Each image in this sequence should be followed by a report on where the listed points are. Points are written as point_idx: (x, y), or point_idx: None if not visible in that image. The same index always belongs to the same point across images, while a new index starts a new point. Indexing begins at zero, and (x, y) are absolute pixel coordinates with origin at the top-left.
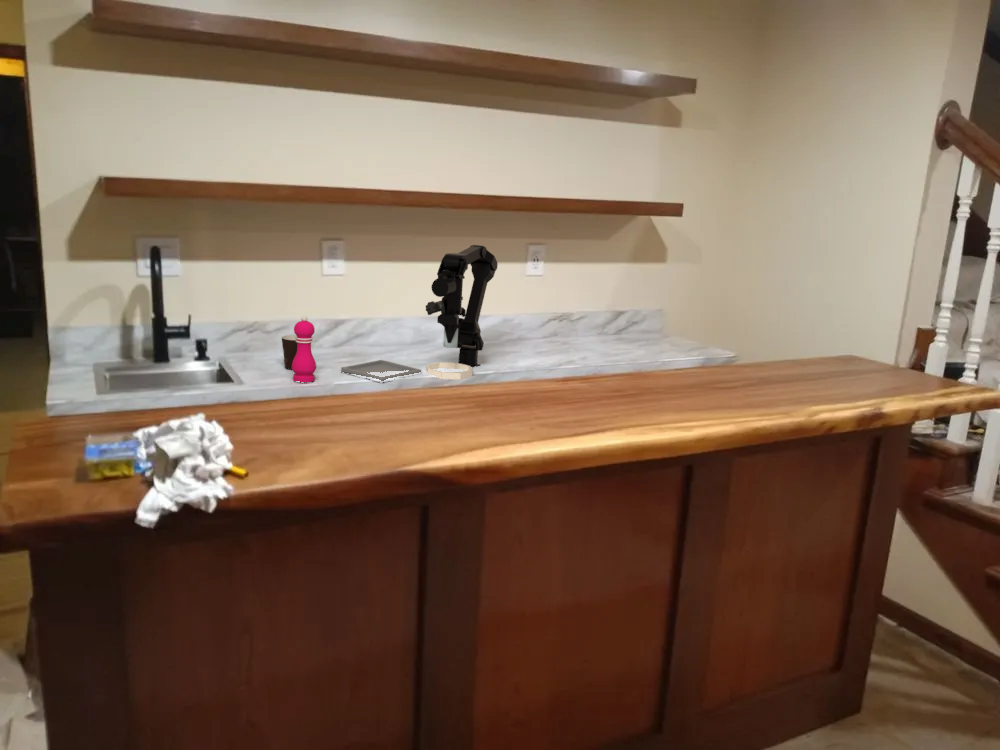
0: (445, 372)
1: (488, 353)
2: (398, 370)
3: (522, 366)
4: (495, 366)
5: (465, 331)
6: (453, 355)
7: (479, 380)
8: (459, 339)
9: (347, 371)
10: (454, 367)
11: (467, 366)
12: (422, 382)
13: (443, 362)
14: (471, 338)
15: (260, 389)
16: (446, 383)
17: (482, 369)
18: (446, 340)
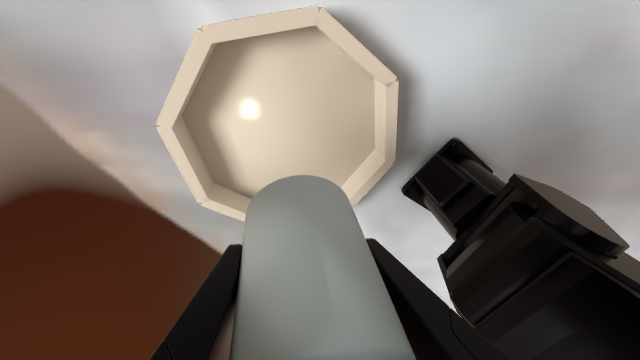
0: (165, 143)
1: (597, 209)
2: None
3: (435, 288)
4: (436, 244)
5: (523, 311)
6: (619, 111)
7: (242, 235)
8: (502, 236)
9: None
10: (377, 148)
11: None
12: (39, 4)
13: (390, 106)
14: (460, 300)
15: None
16: (118, 140)
17: (397, 222)
18: (247, 244)
